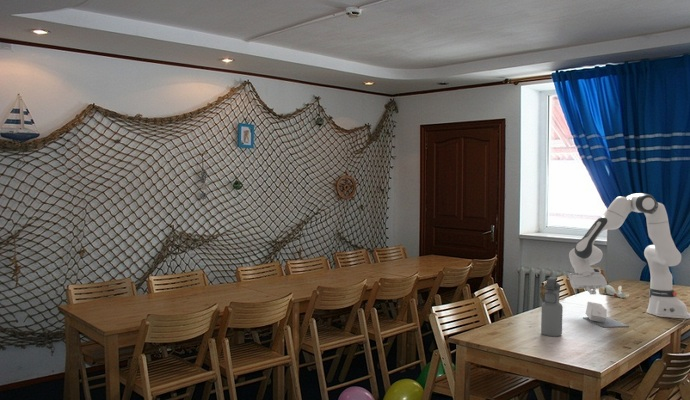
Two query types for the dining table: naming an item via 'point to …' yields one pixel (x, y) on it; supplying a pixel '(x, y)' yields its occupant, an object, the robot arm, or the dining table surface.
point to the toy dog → (613, 291)
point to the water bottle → (551, 309)
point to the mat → (607, 323)
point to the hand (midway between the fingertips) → (593, 293)
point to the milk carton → (596, 312)
